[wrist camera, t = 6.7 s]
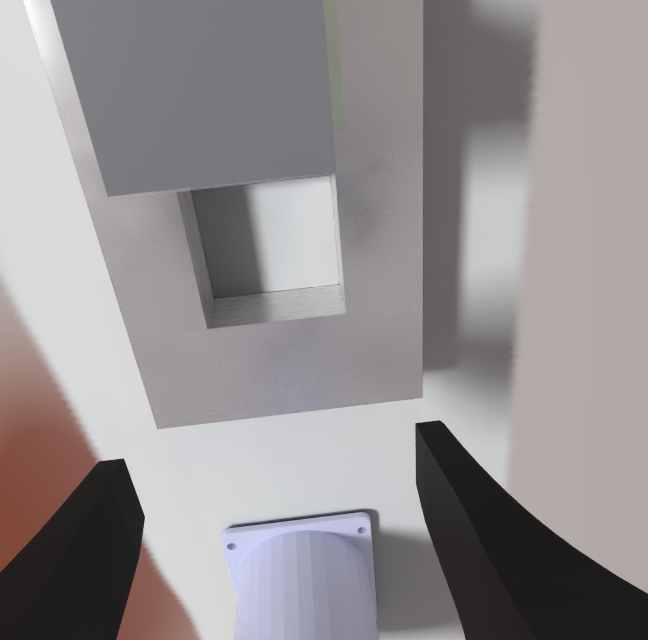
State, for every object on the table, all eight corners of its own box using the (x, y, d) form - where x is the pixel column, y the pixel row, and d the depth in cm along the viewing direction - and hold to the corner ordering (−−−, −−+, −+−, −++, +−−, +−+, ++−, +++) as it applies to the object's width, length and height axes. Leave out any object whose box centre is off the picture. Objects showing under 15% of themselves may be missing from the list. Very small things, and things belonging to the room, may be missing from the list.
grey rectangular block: (311, 105, 16) (336, 171, 10) (179, 119, 16) (107, 196, 9) (295, -55, 15) (313, -117, 8) (145, -40, 14) (24, -89, 7)
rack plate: (409, 363, 25) (423, 400, 22) (167, 392, 25) (156, 432, 22) (402, -240, 15) (426, -287, 13) (-4, -203, 15) (-56, -244, 12)
